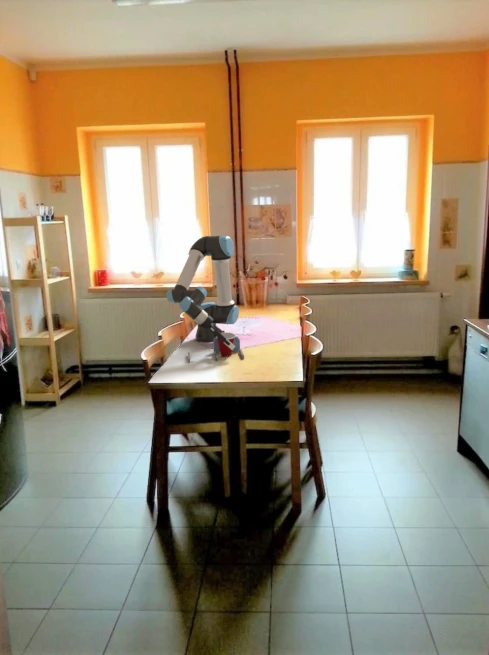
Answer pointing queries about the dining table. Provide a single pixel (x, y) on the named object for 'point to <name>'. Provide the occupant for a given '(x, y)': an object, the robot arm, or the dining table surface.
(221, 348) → the plastic cup
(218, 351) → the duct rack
